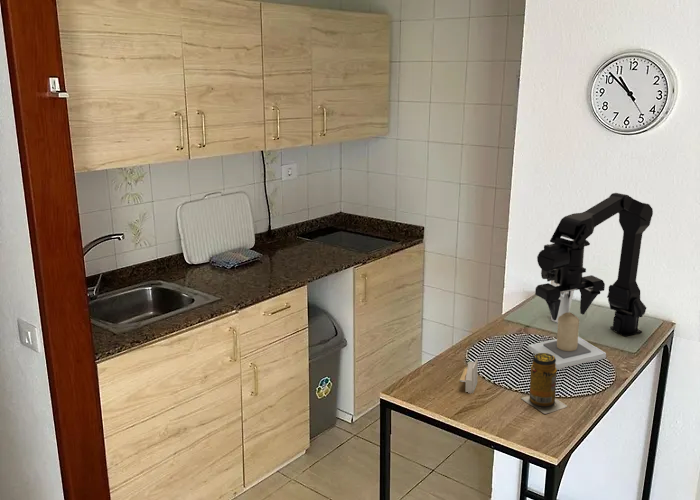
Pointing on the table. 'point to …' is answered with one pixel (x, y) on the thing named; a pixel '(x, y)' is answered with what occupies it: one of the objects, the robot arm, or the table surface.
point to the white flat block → (569, 353)
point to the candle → (567, 332)
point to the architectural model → (470, 376)
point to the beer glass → (563, 302)
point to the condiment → (543, 384)
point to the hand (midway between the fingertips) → (568, 316)
